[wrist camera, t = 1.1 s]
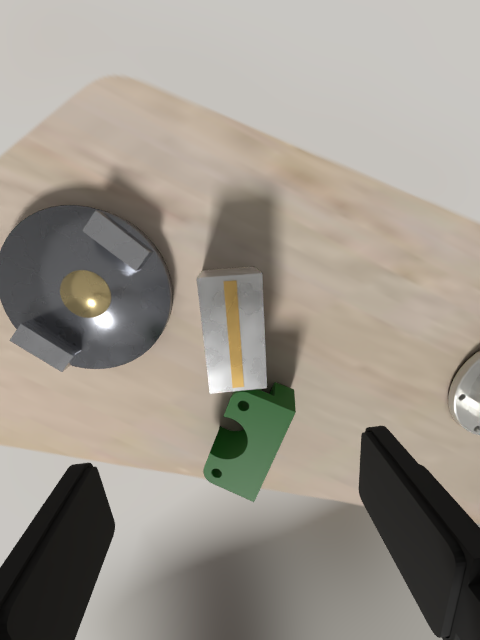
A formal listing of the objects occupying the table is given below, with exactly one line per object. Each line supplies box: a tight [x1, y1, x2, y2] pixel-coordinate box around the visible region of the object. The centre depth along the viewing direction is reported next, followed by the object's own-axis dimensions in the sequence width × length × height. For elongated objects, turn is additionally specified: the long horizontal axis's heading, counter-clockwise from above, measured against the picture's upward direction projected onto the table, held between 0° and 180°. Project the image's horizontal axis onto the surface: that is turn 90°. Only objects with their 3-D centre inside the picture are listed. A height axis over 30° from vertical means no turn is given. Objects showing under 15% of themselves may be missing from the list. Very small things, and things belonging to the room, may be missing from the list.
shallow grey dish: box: [0, 205, 173, 372], centre depth 24 cm, size 15×15×3 cm
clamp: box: [204, 382, 296, 502], centre depth 28 cm, size 12×6×9 cm, turn 155°
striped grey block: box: [197, 266, 267, 394], centre depth 24 cm, size 5×10×6 cm, turn 3°
